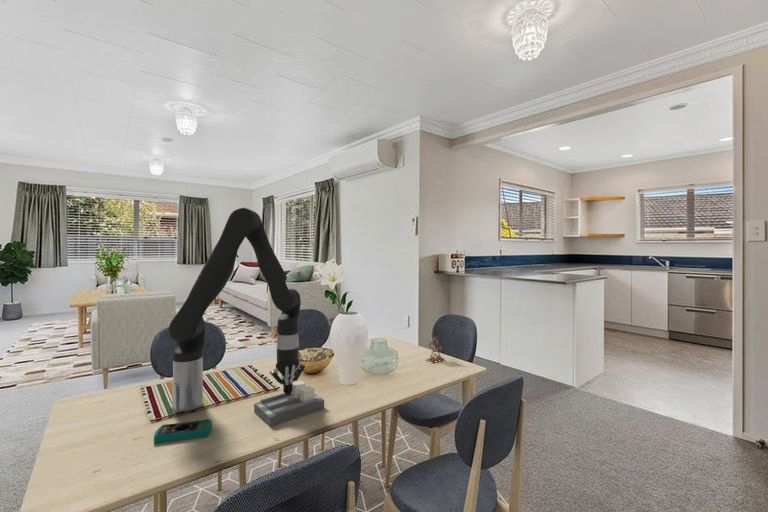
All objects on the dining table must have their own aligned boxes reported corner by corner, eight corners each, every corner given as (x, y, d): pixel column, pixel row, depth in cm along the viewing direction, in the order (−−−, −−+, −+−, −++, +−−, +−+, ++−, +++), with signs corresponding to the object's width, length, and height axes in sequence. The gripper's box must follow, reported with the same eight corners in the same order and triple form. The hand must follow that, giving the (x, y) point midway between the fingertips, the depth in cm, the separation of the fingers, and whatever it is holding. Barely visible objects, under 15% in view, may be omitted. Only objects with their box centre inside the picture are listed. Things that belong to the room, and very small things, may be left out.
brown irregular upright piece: (439, 358, 183) (439, 335, 183) (444, 360, 180) (445, 336, 179) (425, 361, 178) (426, 337, 178) (430, 363, 175) (431, 339, 175)
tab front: (304, 403, 123) (304, 391, 123) (299, 399, 125) (299, 388, 125) (314, 399, 126) (314, 388, 125) (309, 396, 128) (309, 385, 128)
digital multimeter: (159, 433, 110) (159, 423, 110) (212, 426, 114) (212, 417, 114) (151, 446, 103) (151, 436, 103) (208, 438, 107) (207, 428, 107)
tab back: (295, 396, 128) (295, 385, 128) (291, 394, 130) (291, 383, 130) (305, 393, 130) (305, 383, 130) (301, 391, 133) (301, 380, 133)
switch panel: (270, 426, 113) (270, 414, 113) (254, 412, 123) (254, 400, 123) (324, 408, 126) (324, 397, 126) (306, 396, 136) (306, 385, 136)
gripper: (299, 340, 134) (299, 385, 134) (265, 346, 125) (265, 395, 126) (309, 344, 128) (309, 392, 129) (274, 351, 120) (274, 402, 120)
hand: (287, 393), depth 127 cm, fingers closed
